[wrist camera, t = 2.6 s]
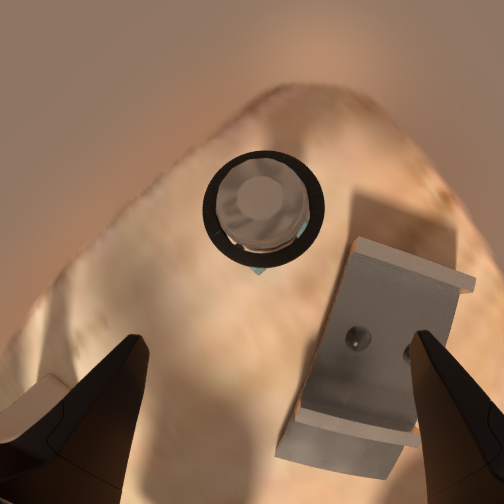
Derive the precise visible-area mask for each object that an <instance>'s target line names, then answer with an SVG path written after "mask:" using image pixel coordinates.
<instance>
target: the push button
mask: <svg viewBox="0 0 504 504" xmlns="http://www.w3.org/2000/svg"><path fill="white" fill-rule="evenodd" d="M202 210H203V221H204V225H205V229H206V231H207V234H208V236H209V237H210V239H211V241H212V242H213V244H214V245H215V246H216V247H217V248H218V249H219V250H220V251H221V252H222V253H223V254H224V255H226V256H227V257H228V258H230V259H231V260H233V261H235V262H237V263H239V264H242V265H245V266H249V267H250V268H251V269H252V270H253V271H254V272H255V273H256V274H257V275H260V274H261V273H262V272H263V271H265V270H266V268H271V267H277V266H281V265H284V264H287V263H289V262H291V261H293V260H294V259H296V258H298V257H299V256H300V255H302V254H303V253H304V252H305V251H306V250H307V249H308V248H309V247H310V246H311V245H312V244H313V242H314V241H315V239H316V238H317V236H318V234H319V231H320V229H321V226H322V223H323V219H324V212H325V203H324V196H323V192H322V189H321V186H320V184H319V182H318V180H317V178H316V177H315V175H314V174H313V173H312V171H311V170H310V169H309V168H308V167H307V166H306V165H305V164H303V163H302V162H301V161H299V160H298V159H296V158H294V157H292V156H290V155H287V154H284V153H281V152H276V151H254V152H249V153H246V154H243V155H241V156H238V157H236V158H234V159H232V160H231V161H229V162H228V163H227V164H225V165H224V166H223V167H222V168H221V169H220V170H219V171H218V172H217V173H216V174H215V175H214V177H213V178H212V180H211V181H210V183H209V185H208V187H207V190H206V192H205V196H204V200H203V209H202ZM227 235H228V236H229V237H230V238H231V239H232V240H234V241H235V242H236V243H237V244H236V245H234V244H232V243H231V241H230V240H229V238H228V236H227Z"/></svg>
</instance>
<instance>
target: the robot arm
mask: <svg viewBox="0 0 504 504" xmlns="http://www.w3.org/2000/svg"><path fill="white" fill-rule="evenodd" d="M409 358H410V366H411V376H412V387H413V395H414V401H415V406H416V412H417V417H418V423H419V429H420V436H421V443H422V450H423V457H424V466H425V475H426V485H427V497H428V498H427V500H428V504H504V414H503V413H502V412H501V411H500V410H499V408H498V407H497V406H496V405H495V404H494V403H493V401H491V399H490V398H489V397H488V396H487V394H486V393H485V392H484V391H483V390H482V388H481V387H480V386H479V385H478V384H477V383H476V382H475V380H474V379H473V378H472V377H471V376H470V375H469V374H468V372H467V371H466V370H465V369H464V368H463V367H462V366H461V365H460V364H459V362H458V361H457V360H456V359H455V358H454V357H453V356H452V355H451V354H450V353H449V351H448V350H447V349H446V348H445V347H444V346H443V345H442V344H441V343H440V342H439V341H438V340H437V339H436V338H435V337H434V335H433V334H432V333H431V332H430V331H428V330H418V331H416V332H415V334H414V336H413V339H412V341H411V344H410V346H409ZM148 361H149V349H148V347H147V345H146V343H145V341H144V339H143V337H142V336H141V335H139V334H129V335H128V336H127V337H126V338H125V339H124V340H123V341H121V342H120V343H119V344H118V345H117V346H116V347H115V348H114V349H113V350H112V351H111V352H110V353H109V354H108V355H107V356H106V357H105V358H104V359H103V360H102V361H101V362H99V363H98V364H97V365H96V366H95V367H94V368H93V369H92V370H91V371H90V372H89V373H88V374H87V375H86V376H85V377H84V378H83V379H82V380H81V381H80V382H79V383H78V384H77V385H76V386H75V387H74V388H73V389H72V390H71V391H70V392H69V393H68V394H67V395H65V396H64V398H63V399H61V400H60V401H59V402H58V403H57V404H56V405H55V406H54V407H53V408H52V409H51V410H50V411H49V412H48V413H47V414H45V415H44V416H43V417H42V418H41V419H40V420H38V421H37V422H36V423H35V424H34V425H32V426H31V427H30V428H29V429H27V430H26V431H25V432H24V433H23V434H21V435H20V436H19V437H17V438H16V439H14V440H12V441H9V442H6V443H0V504H120V499H121V494H122V488H123V483H124V478H125V473H126V468H127V463H128V458H129V454H130V449H131V445H132V440H133V436H134V431H135V427H136V423H137V419H138V415H139V411H140V407H141V403H142V399H143V394H144V389H145V382H146V375H147V368H148Z"/></svg>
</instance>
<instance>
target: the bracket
mask: <svg viewBox="0 0 504 504" xmlns="http://www.w3.org/2000/svg"><path fill="white" fill-rule="evenodd" d="M475 282H476V278H475V277H472V276H469V275H467V274H464V273H462V272H459V271H456V270H454V269H451V268H448V267H446V266H443V265H440V264H438V263H435V262H432V261H429V260H427V259H424V258H421V257H418V256H415V255H413V254H410V253H407V252H404V251H401V250H398V249H396V248H393V247H390V246H387V245H384V244H381V243H378V242H375V241H372V240H369V239H366V238H363V237H360V236H358V238H357V239H356V240H355V241H354V242H353V243H352V244H351V245H350V248H349V251H348V255H347V258H346V262H345V265H344V268H343V272H342V275H341V278H340V282H339V285H338V288H337V291H336V294H335V298H334V301H333V304H332V307H331V310H330V313H329V316H328V319H327V322H326V325H325V328H324V330H323V333H322V336H321V339H320V342H319V345H318V347H317V350H316V353H315V356H314V358H313V361H312V364H311V366H310V369H309V372H308V374H307V377H306V379H305V382H304V384H303V387H302V390H301V392H300V395H299V397H298V399H297V402H296V404H295V407H294V409H293V411H292V414H291V416H290V419H289V421H288V423H287V426H286V428H285V430H284V432H283V435H282V437H281V439H280V441H279V444H278V446H277V448H276V451H275V457H278V458H281V459H285V460H288V461H292V462H296V463H300V464H303V465H307V466H312V467H316V468H320V469H325V470H329V471H334V472H339V473H344V474H349V475H355V476H361V477H367V478H374V479H382V480H386V479H387V477H388V475H389V474H390V472H391V470H392V468H393V467H394V465H395V463H396V461H397V459H398V457H399V456H400V454H401V452H402V450H403V448H404V446H411V447H419V445H420V443H421V436H420V430H419V429H418V428H417V427H416V426H415V423H416V421H417V419H418V417H417V412H416V406H415V401H414V395H413V387H412V376H411V366H410V358H409V346H410V344H411V341H412V339H413V336H414V334H415V332H416V331H418V330H428V331H430V332H431V333H432V334H433V335H434V337H435V338H436V339H437V340H438V341H439V342H440V343H441V344H442V345H443V346H444V347H445V346H446V343H447V339H448V336H449V333H450V329H451V326H452V322H453V318H454V315H455V311H456V307H457V303H458V299H459V294H464V293H473V291H474V287H475Z"/></svg>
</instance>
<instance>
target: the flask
mask: <svg viewBox="0 0 504 504" xmlns="http://www.w3.org/2000/svg"><path fill="white" fill-rule="evenodd" d="M70 391H71V389H69V388H68V387H67V386H65V385H64V384H63V383H61V382H60V381H59V380H58V379H56V378H55V377H54V376H52V375H51V374H49V375H47V376H46V377H44V378H43V379H41V380H40V381H39V382H37V383H36V384H35V385H33V386H32V387H31V388H30V389H29V390H28V391H27V392H26V393H25V394H24V395H23V396H21V397H20V398H19V399H18V400H17V401H16V402H15V403H13V404H12V405H11V406H10V407H9V408H7V409H6V410H4V411H2V412H0V443H6V442H9V441H12V440H14V439H16V438H17V437H19V436H20V435H21V434H23V433H24V432H25V431H26V430H27V429H29V428H30V427H31V426H32V425H34V424H35V423H36V422H37V421H38V420H40V419H41V418H42V417H43V416H44V415H45V414H47V413H48V412H49V411H50V410H51V409H52V408H53V407H54V406H55V405H56V404H57V403H58V402H59V401H60V400H61V399H63V398H64V396H65V395H67V394H68V393H69V392H70Z"/></svg>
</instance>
